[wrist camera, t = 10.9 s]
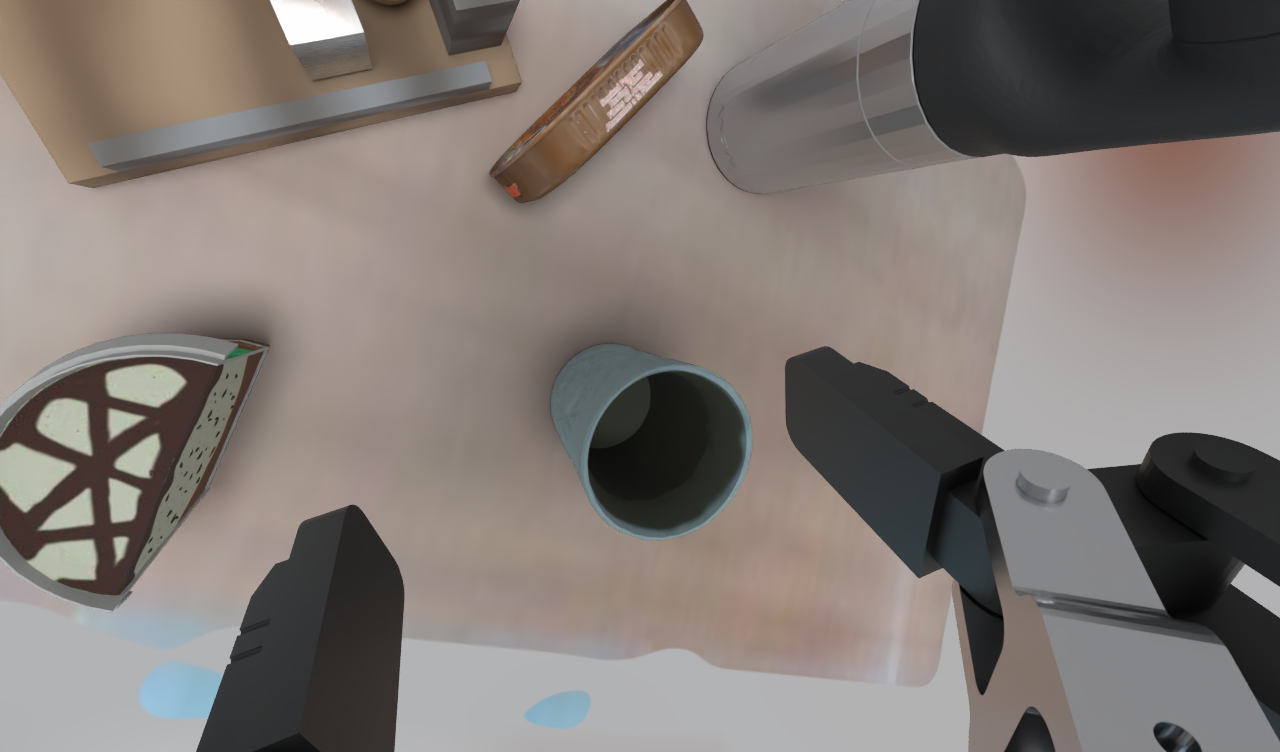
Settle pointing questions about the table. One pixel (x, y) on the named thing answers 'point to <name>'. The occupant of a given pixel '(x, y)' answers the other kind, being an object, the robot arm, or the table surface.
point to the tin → (599, 103)
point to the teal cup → (651, 439)
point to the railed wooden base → (229, 76)
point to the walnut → (390, 1)
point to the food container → (115, 457)
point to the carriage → (324, 36)
